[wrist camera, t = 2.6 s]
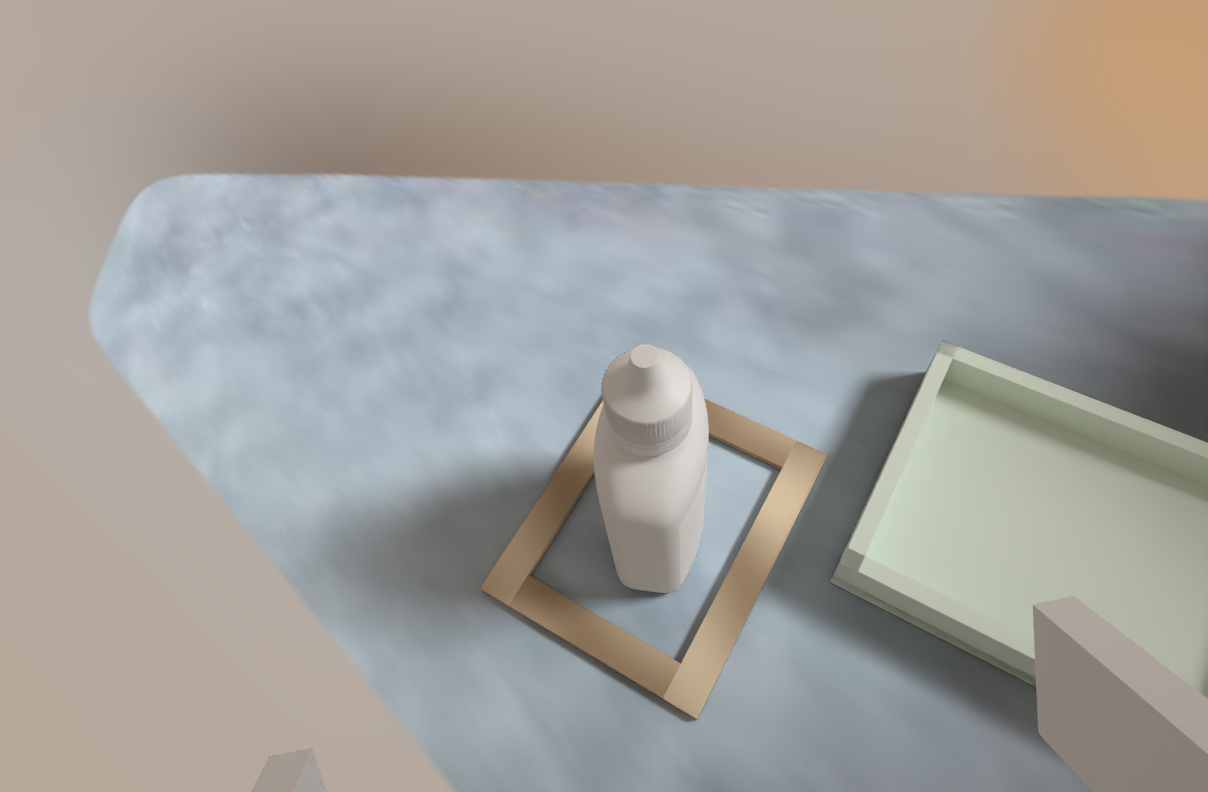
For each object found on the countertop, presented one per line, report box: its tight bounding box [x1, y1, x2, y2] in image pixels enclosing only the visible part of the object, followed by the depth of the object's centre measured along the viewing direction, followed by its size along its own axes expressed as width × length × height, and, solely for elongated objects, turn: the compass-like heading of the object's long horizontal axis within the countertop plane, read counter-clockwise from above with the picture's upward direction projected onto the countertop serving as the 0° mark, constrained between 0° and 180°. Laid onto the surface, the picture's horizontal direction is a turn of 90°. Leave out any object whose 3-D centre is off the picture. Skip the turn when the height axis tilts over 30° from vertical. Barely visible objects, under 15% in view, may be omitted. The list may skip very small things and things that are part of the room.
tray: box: [830, 341, 1208, 699], centre depth 27 cm, size 10×13×2 cm
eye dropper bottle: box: [594, 344, 709, 593], centre depth 24 cm, size 4×6×12 cm
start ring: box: [480, 399, 828, 720], centre depth 29 cm, size 11×9×1 cm
